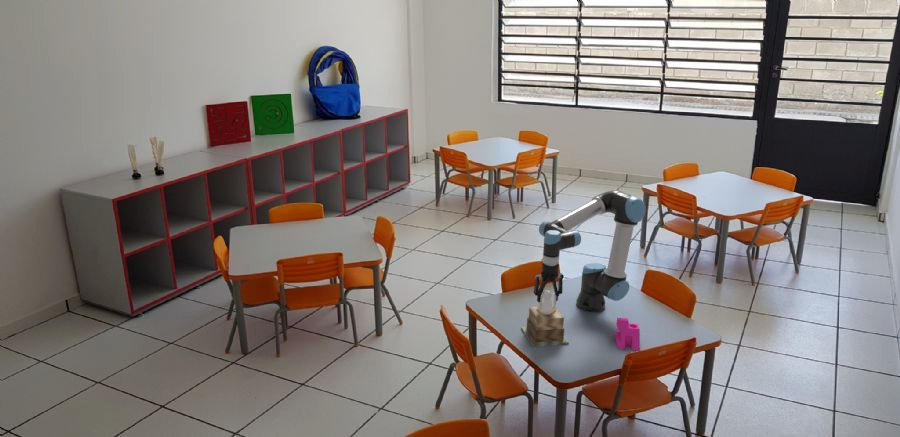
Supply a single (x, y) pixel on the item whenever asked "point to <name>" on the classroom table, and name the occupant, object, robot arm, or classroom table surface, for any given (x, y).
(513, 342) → the classroom table surface
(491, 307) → the classroom table surface
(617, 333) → the bracket
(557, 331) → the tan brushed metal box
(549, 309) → the seated beast figurine
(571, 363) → the classroom table surface
